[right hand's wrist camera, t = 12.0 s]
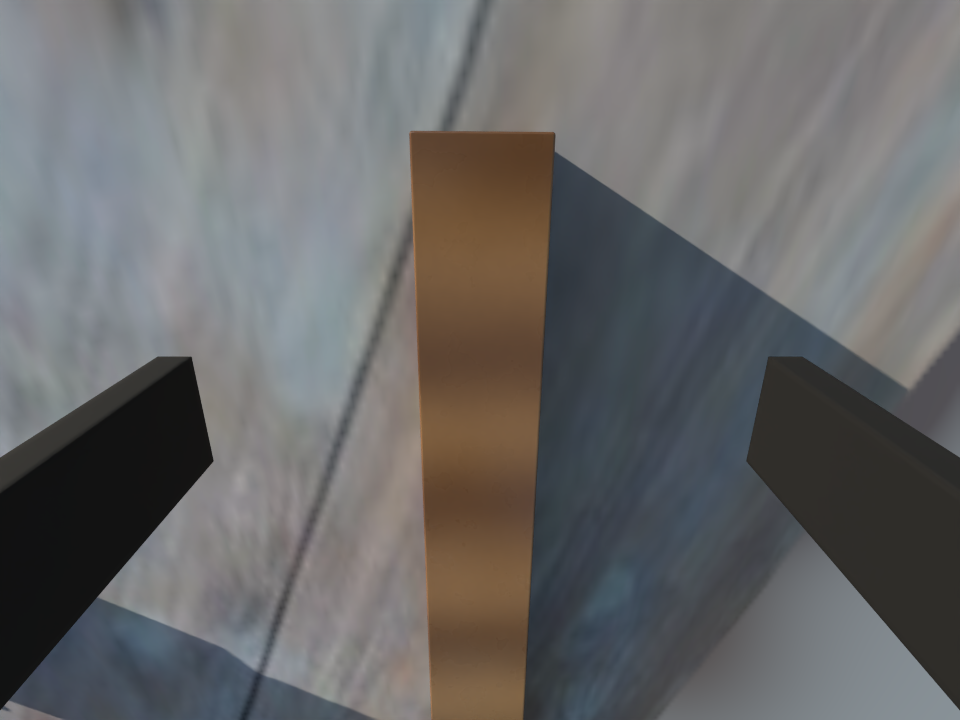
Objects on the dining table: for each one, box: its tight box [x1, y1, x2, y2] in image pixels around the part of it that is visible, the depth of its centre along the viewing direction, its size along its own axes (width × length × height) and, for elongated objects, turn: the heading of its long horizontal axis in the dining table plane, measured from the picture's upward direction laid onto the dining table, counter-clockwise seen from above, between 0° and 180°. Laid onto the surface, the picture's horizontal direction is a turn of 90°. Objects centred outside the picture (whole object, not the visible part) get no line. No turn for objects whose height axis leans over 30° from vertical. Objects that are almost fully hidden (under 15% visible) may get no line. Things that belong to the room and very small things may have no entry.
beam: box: [409, 131, 555, 720], centre depth 34 cm, size 53×6×8 cm, turn 0°
